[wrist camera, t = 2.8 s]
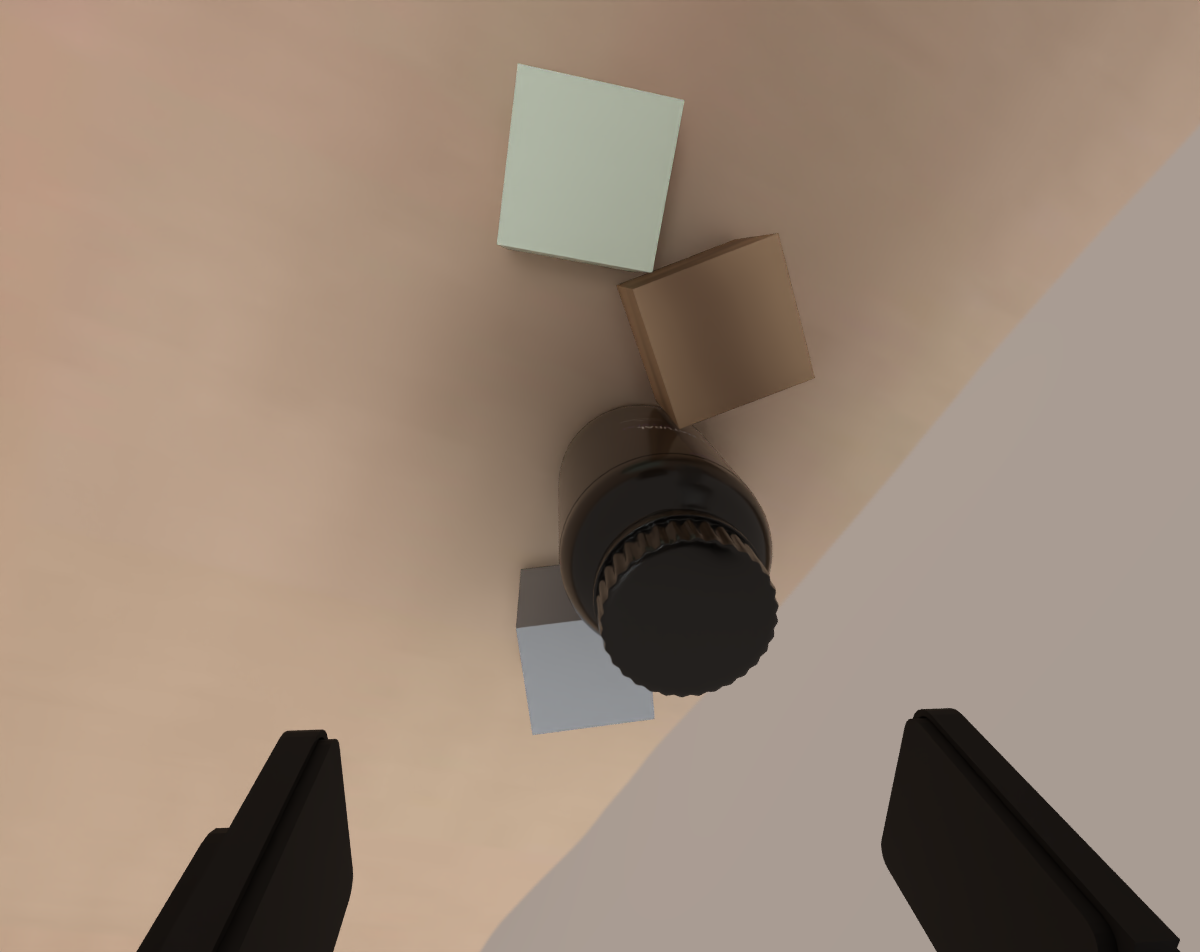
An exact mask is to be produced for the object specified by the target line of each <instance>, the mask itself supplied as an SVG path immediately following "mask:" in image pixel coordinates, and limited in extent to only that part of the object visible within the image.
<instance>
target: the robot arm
mask: <svg viewBox="0 0 1200 952" xmlns="http://www.w3.org/2000/svg"><path fill="white" fill-rule="evenodd" d="M881 848H882V854H883V858H884V861H885V864H886V866H887V868H888V870H889V871H890V873H891V875H892V876H893V878H894V880H895V881H896V883H897V885H898V886H899V888H900V890H901V892H902V893H903V895H904V897H905V899H906V900H907V902H908V904H909V905H910V907H911V909H912V910H913V912H914V914H915V915H916V917H917V919H918V921H919V922H920V924H921V925H922V927H923V929H924V931H925V932H926V934H927V936H928V937H929V939H930V941H931V942H932V944H933V946H934V948H935V949H936V951H937V952H1180V951H1179V950H1178V949H1177V946H1178V944H1179V941H1180V939H1179V938H1178V937H1177V936H1176V935H1175V934H1174V933H1173V932H1172V931H1171V930H1170V929H1169V928H1168V927H1167V926H1166V925H1165V924H1164V923H1163V921H1161V919H1159V917H1158V916H1157V915H1156V914H1155V913H1154V912H1153V911H1152V910H1151V909H1150V908H1149V907H1148V906H1147V905H1146V904H1145V903H1144V902H1143V901H1142V900H1141V899H1140V898H1139V897H1138V896H1137V895H1136V894H1135V893H1134V892H1133V891H1132V889H1131V888H1130V887H1129V886H1128V885H1127V884H1126V883H1125V882H1124V881H1123V880H1122V879H1121V878H1120V877H1119V876H1118V875H1117V874H1116V873H1115V872H1114V871H1113V870H1112V869H1111V868H1110V867H1109V866H1108V865H1107V864H1106V863H1105V862H1104V861H1103V860H1102V859H1101V858H1100V856H1099V855H1098V854H1097V853H1096V852H1095V851H1094V850H1093V849H1092V848H1091V847H1090V846H1089V845H1088V844H1087V843H1086V842H1085V841H1084V840H1083V839H1082V838H1081V837H1080V836H1079V835H1078V834H1077V833H1076V832H1075V831H1074V830H1073V829H1072V828H1071V827H1070V826H1069V825H1068V823H1067V822H1066V821H1065V820H1064V819H1063V818H1062V817H1061V816H1060V815H1059V814H1058V813H1057V812H1056V811H1055V810H1054V809H1053V808H1052V807H1051V806H1050V805H1049V804H1048V803H1047V802H1046V801H1045V800H1044V799H1043V798H1042V797H1041V796H1040V795H1039V793H1037V791H1036V790H1034V788H1033V787H1032V786H1031V785H1030V784H1029V783H1028V782H1027V781H1026V780H1025V779H1024V778H1023V777H1022V776H1021V775H1020V774H1019V773H1018V772H1017V771H1016V770H1015V769H1014V768H1013V767H1012V766H1011V765H1010V764H1009V763H1008V761H1006V759H1005V758H1004V757H1003V756H1001V754H1000V753H999V752H998V751H997V750H996V749H995V748H994V747H993V746H992V745H991V744H990V743H989V742H988V741H987V740H986V739H985V738H984V737H983V736H982V735H981V734H980V733H979V732H978V731H977V730H976V728H974V726H973V725H972V724H971V723H970V722H969V721H968V720H967V719H966V718H965V717H964V716H963V715H962V714H961V713H960V712H958V711H957V710H955V709H952V708H944V709H921V710H918V711H917V712H916V713H915V714H914V717H913V719H909V720H908V721H907V722H906V725H905V728H904V733H903V738H902V743H901V748H900V753H899V758H898V762H897V767H896V772H895V777H894V782H893V787H892V792H891V797H890V802H889V806H888V811H887V816H886V821H885V826H884V831H883V836H882V841H881ZM352 881H353V867H352V858H351V848H350V839H349V830H348V821H347V811H346V802H345V793H344V784H343V774H342V765H341V756H340V747H339V742H338V740H337V739H328V737H327V733H326V732H325V730H297V731H286V732H284V733H283V734H282V736H281V737H280V739H279V740H278V742H277V744H276V746H275V748H274V749H273V751H272V753H271V755H270V756H269V758H268V760H267V762H266V763H265V765H264V767H263V769H262V771H261V772H260V774H259V776H258V778H257V779H256V781H255V783H254V785H253V786H252V788H251V790H250V792H249V794H248V795H247V797H246V799H245V801H244V802H243V804H242V806H241V808H240V809H239V811H238V813H237V815H236V816H235V818H234V820H233V822H232V824H231V825H230V827H229V828H216V829H214V830H213V831H212V832H210V833H209V834H208V835H207V837H206V838H205V839H204V841H203V842H202V843H201V845H200V847H199V848H198V850H197V852H196V853H195V855H194V857H193V858H192V860H191V862H190V863H189V865H188V867H187V868H186V870H185V872H184V873H183V875H182V877H181V878H180V880H179V882H178V883H177V885H176V887H175V888H174V890H173V892H172V893H171V895H170V897H169V898H168V900H167V902H166V903H165V905H164V907H163V908H162V910H161V912H160V913H159V915H158V917H157V918H156V920H155V922H154V923H153V925H152V927H151V928H150V930H149V932H148V933H147V935H146V937H145V939H144V940H143V942H142V944H141V945H140V947H139V949H138V950H137V952H333V951H334V947H335V944H336V941H337V938H338V934H339V931H340V928H341V925H342V921H343V918H344V915H345V911H346V908H347V905H348V902H349V898H350V894H351V889H352Z"/></svg>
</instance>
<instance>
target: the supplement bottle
mask: <svg viewBox="0 0 1200 952" xmlns="http://www.w3.org/2000/svg"><path fill="white" fill-rule="evenodd" d="M558 497H559V564H560V571H561V578H562V582H563V586H564V589H565V592H566V595H567V597H568V599H569V601H570V603H571V605H572V606H573V608H574V610H575V611H576V613H577V614H578V615H579V617H580V618H581V619H582V620H583V622H584V623H585V624H586V625H587V626H588V627H589V628H590V629H592V630H593V631H594V632H595V633H596V634H598V635H599V636H601V637H602V640H603V647H604V649H605V651H606V652H607V653H608V654H609V655H610V658H611V662H612V664H613V665H615V666H616V667H618V668H620V671H621V673H622V675H623V676H625V677H628V678H631V680H632V681H633V682H634V683H635V685H639V686H644V687H645V688H646V689H647V690H649V691H651V692H660V693H661V694H663V695H665V696H667V695H677V696H680V697H685V696H688V695H696V696H699V695H702V694H704V693H706V692H714V691H717V690H718V689H720V688H721V687H722V686H727V685H730V684H732V683H733V682H734V681H735V680H736V679H737V678H739V677H742V676H744V675H746V673H747V672H748V670H749V669H750V668H751V667H753V666H755V665H756V664H757V663H758V661H759V659H760V656H762V655H763V654H764V653H765V652H766V651H767V649H768V643H769V642H770V641H771V640H772V639H773V637H774V627H775V626H776V624H777V622H778V619H777V616H776V612H777V610H778V602H777V601H776V599H775V594H776V590H775V587H774V585H773V584H772V582H771V581H770V576H769V574H770V569H771V563H772V540H771V533H770V529H769V524H768V522H767V519H766V516H765V514H764V512H763V510H762V508H761V506H760V504H759V502H758V501H757V499H756V498H755V496H754V495H753V493H752V492H751V491H750V489H749V488H748V487H747V486H746V484H745V483H744V482H743V481H742V480H741V479H740V478H739V476H738V475H737V474H736V473H735V472H734V471H733V470H732V468H731V467H730V466H729V465H728V464H727V463H726V462H725V460H724V459H723V458H722V457H721V456H720V455H719V454H718V452H717V451H716V450H715V449H714V448H713V447H712V446H711V445H710V443H709V442H708V441H707V440H706V439H705V438H704V437H703V435H702V434H701V433H700V432H699V431H698V430H697V429H696V428H695V427H694V426H693V425H689V426H686V427H684V428H681V429H679V428H678V427H677V425H676V424H675V423H674V422H673V421H672V419H671V418H670V417H669V416H668V415H667V413H666V412H665V411H664V410H663V409H662V408H658V407H653V406H643V405H637V406H626V407H622V408H618V409H614V410H611V411H609V412H607V413H604V414H602V415H600V416H599V417H597V418H595V419H594V420H592V421H591V422H590V423H588V424H587V425H586V426H585V427H584V428H583V429H582V430H581V431H580V432H579V433H578V434H577V435H576V436H575V438H574V439H573V441H572V442H571V444H570V445H569V447H568V449H567V451H566V453H565V456H564V458H563V461H562V465H561V469H560V474H559V488H558Z"/></svg>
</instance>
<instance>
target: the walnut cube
mask: <svg viewBox="0 0 1200 952" xmlns="http://www.w3.org/2000/svg"><path fill="white" fill-rule="evenodd" d="M617 288H618V291H619V294H620V297H621V300H622V303H623V306H624V308H625V311H626V314H627V317H628V320H629V323H630V326H631V329H632V332H633V335H634V338H635V341H636V343H637V346H638V349H639V352H640V355H641V358H642V361H643V364H644V367H645V370H646V373H647V375H648V378H649V381H650V384H651V387H652V390H653V393H654V396H655V399H656V401H657V403H658V404H659V405H660V406H661V407H662V409H663V410H664V411H665V412H666V413H667V415H668V416H669V417H670V418H671V419H672V421H673V422H674V423H675V424H676V425H677V427H678V428H679V429H681V428H684V427H686V426H689V425H692V424H694V423H697V422H700V421H702V420H705V419H708V418H710V417H713V416H716V415H718V414H721V413H724V412H726V411H729V410H731V409H734V408H737V407H739V406H742V405H745V404H747V403H750V402H753V401H755V400H758V399H761V398H763V397H766V396H769V395H771V394H774V393H777V392H779V391H782V390H784V389H787V388H790V387H792V386H795V385H798V384H800V383H803V382H806V381H808V380H811V379H814V378H815V376H814V372H813V369H812V365H811V361H810V357H809V353H808V349H807V345H806V341H805V337H804V333H803V329H802V325H801V321H800V317H799V313H798V309H797V305H796V301H795V297H794V293H793V290H792V286H791V282H790V278H789V274H788V270H787V266H786V262H785V258H784V254H783V250H782V246H781V242H780V238H779V234H778V233H777V234H770V235H763V236H756V237H749V238H742V239H735V240H732V241H730V242H727V243H725V244H722V245H720V246H717V247H714V248H712V249H709V250H707V251H704V252H701V253H699V254H696V255H694V256H691V257H689V258H686V259H683V260H681V261H678V262H676V263H673V264H670V265H668V266H665V267H663V268H660V269H658V270H655V271H652V273H647V274H645V275H642V276H640V277H637V278H634V279H632V280H629V281H627V282H624V283H621V284H619V285H617Z"/></svg>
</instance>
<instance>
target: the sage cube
mask: <svg viewBox="0 0 1200 952" xmlns="http://www.w3.org/2000/svg"><path fill="white" fill-rule="evenodd" d="M683 106H684V100H682V99H677V98H673V97H668V96H664V95H659V94H655V93H650V92H646V91H641V90H636V89H632V88H627V87H623V86H618V85H614V84H609V83H605V82H600V81H596V80H591V79H587V78H582V77H578V76H573V75H569V74H564V73H559V72H555V71H550V70H546V69H541V68H537V67H532V66H528V65H523V64H519V63H518V67H517V75H516V84H515V92H514V101H513V109H512V118H511V127H510V135H509V144H508V152H507V161H506V170H505V178H504V187H503V195H502V204H501V213H500V221H499V230H498V238H497V245H499V246H501V247H503V248H506V249H510V250H516V251H521V252H526V253H532V254H537V255H543V256H548V257H554V258H559V259H565V260H570V261H576V262H581V263H587V264H592V265H598V266H603V267H609V268H614V269H619V270H625V271H630V272H647V273H652V271H653V266H654V261H655V255H656V250H657V244H658V239H659V234H660V228H661V223H662V218H663V212H664V207H665V202H666V196H667V191H668V186H669V180H670V175H671V170H672V164H673V159H674V154H675V148H676V143H677V138H678V132H679V127H680V122H681V116H682V111H683Z"/></svg>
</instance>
